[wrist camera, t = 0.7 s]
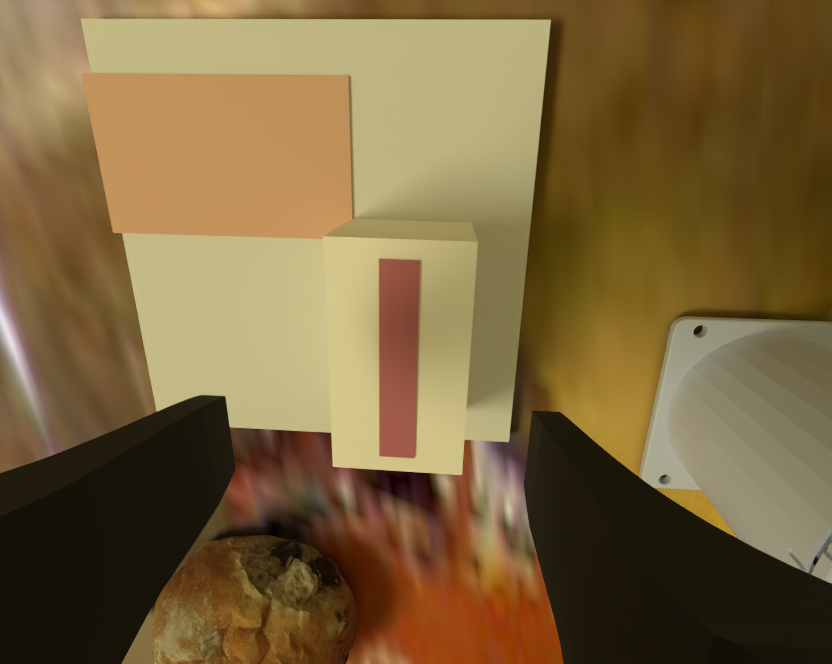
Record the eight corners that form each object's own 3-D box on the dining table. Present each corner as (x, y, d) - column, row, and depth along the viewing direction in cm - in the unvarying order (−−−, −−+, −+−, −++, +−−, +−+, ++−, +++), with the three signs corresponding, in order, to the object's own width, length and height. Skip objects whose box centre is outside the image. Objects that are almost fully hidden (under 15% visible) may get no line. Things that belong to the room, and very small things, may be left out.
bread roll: (204, 501, 29) (74, 626, 23) (314, 500, 23) (175, 671, 17) (289, 613, 31) (193, 751, 25) (407, 639, 25) (317, 829, 19)
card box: (471, 222, 18) (478, 242, 13) (459, 409, 21) (461, 476, 16) (352, 218, 18) (322, 236, 14) (356, 404, 21) (332, 468, 16)
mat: (547, 25, 16) (551, 18, 15) (507, 434, 21) (509, 443, 21) (84, 23, 17) (70, 17, 16) (160, 416, 22) (151, 423, 22)
